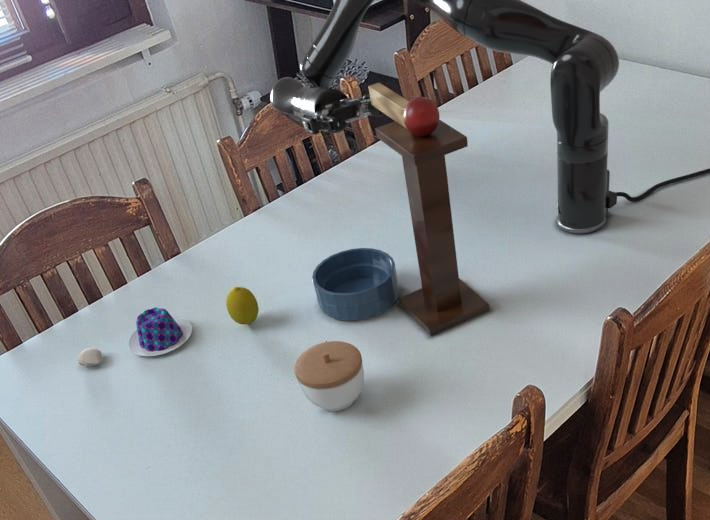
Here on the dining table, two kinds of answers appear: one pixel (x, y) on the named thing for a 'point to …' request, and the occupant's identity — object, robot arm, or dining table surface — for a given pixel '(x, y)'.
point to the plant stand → (433, 228)
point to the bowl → (356, 283)
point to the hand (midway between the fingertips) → (358, 117)
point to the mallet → (406, 110)
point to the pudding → (158, 333)
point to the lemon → (242, 305)
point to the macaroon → (90, 357)
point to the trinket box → (330, 374)
